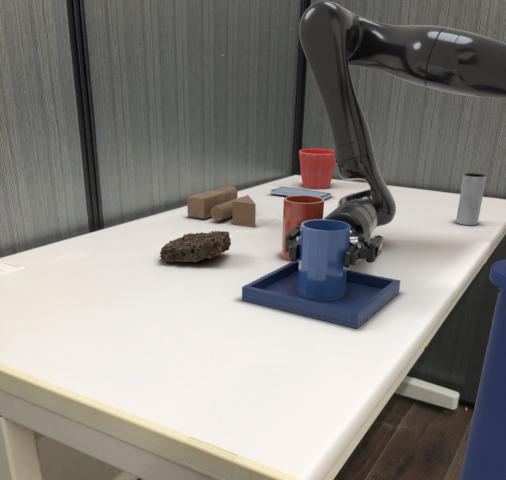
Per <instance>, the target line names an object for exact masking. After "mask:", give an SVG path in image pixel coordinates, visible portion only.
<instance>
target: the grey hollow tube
mask: <svg viewBox="0 0 506 480" xmlns="http://www.w3.org/2000/svg"><path fill="white" fill-rule="evenodd" d="M486 180H487V175H486V174H484V173H475V172H466V173H464V174H463V177H462V182H461V189H460V194H459V200H458V205H457V212H456V213H457V214H456V219H455V222H456V224H459V225H463V226H477V225H478V223H479V219H480V213H481V207H482V202H483V197H484V190H485V184H486Z"/></svg>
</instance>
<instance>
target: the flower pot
mask: <svg viewBox="0 0 506 480" xmlns="http://www.w3.org/2000/svg"><path fill="white" fill-rule="evenodd" d="M298 157H299V166H300V175H301V183H302V186H303V187H304V188H306V189H314V190H315V189H316V190H319V189H327V188H330V186H331V183H332V179H333V175H334V172H335V168H336V165H337V163H336V158H335V154H334V149H328V148H327V149H326V148H303V149H302V148H301V149H299V150H298Z"/></svg>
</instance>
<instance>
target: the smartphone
mask: <svg viewBox="0 0 506 480" xmlns="http://www.w3.org/2000/svg"><path fill="white" fill-rule="evenodd" d="M270 194H273V195H278V196H279V195H280V196H286V197H288V196H296V195H306V196H316V197H320V198H323V199H324V200H326V199H328V198H331V197H332V193H331V192H326V191H318V190H311V189H304V188H296V187H291V186H290V187H289V186H279V187H276V188H273V189H270Z"/></svg>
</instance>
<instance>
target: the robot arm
mask: <svg viewBox="0 0 506 480" xmlns="http://www.w3.org/2000/svg"><path fill="white" fill-rule="evenodd" d="M298 38H299V42H300V45H301V48H302V51H303V53H304V56H305V58H306V62H307V64H308V66H309V68H310V71H311V74H312V76H313V79H314V82H315V85H316V89H317V91H318V95H319V98H320V101H321V104H322V107H323V111H324V114H325V118H326V122H327V126H328V130H329V135H330V140H331V143H332V144H331V145H332V150H334V154H335V158H336V166H337V172H338V176H339V177H340V179H342V180H343V181H364V182H365V183H366V184H368V186H369V189H365V190H362V191H358V192H353V193H350V194H347V195H345V196H342V197H341V198H340V199H339V201H338V202H337V207H336V208H335V209H334V210H333V211H331V212H330V213H329V214H327V215H326V216H325V217H323V219H329V220H338V221H342V222H346V223H348V224H350V225H351V231H350V242H349V249H348V250H347V251H346V253H345V262H344V267H346V268H347V269H351V267H352V266H355V265H357V264H358V263H360V262H362V260H365V262H367V263H370V264H371V263H375V262H376V260H377V259H378V257H379V256H380V255H381V254H382V249H383V241H384V236H382V235H379V234H378V235H375V236H372V234H373V232H374V231H375V229H376V228H377V227H383V226H386V225H388V224H390V223H392V222H393V220H394V219H395V216H396V213H397V205H396V201H395V199H394V196H393V194H392V193H391V191H390V189H389V187H388V185H387V184H386V182H385V179H384V178H383V175H382V173H381V171H380V167H379V165H378V162H377V158H376V154H375V149H374V143H373V140H372V135H371V131H370V127H369V124H368V121H367V117H366V114H365V112H364V110H363V107H362V105H361V103H360V100H359V98H358V96H357V93H356V90H355V87H354V83H353V81H352V77H351V72H350V68H349V67H358V68H364V69H365V68H366V69H371V70H377V71H380V72H384V73H386V74H388V75H390V76H393V77H395V78H397V79H400V80H401V81H405V82H408V83H410V84H412V85H413V84H414V85H417V86H420V87H422V88H423V87H424V88H428V89H432V90H436V91H439V92H443V93H448V94H453V95H454V94H455V95H460V96H467V97H477V98H491V99H501V100H502V99H503V100H506V42H503V41H500V40H498V39H495V38H491V37H489V36H485V35H482V34H479V33H475V32H471V31H468V30H462V29H457V28H453V27H448V26H447V27H446V26H442V25H432V24H408V25H406V24H405V25H396V24H389V23H384V22H381V21H376V20H374V19H371V18H368V17H364V16H362V15H359V14H356V13H354V12H352V11H350V10H349V9H347V8H345V7H343V6H342V5H340V4H339V3H336V2H334V1H331V0H318V1H316V2H314V3H312V4H311V5H310V6H308V7H307V8H306V9H305V11H304V12H303V14H302V16H301V17H300V21H299V25H298ZM300 230H301V227H294V228H293V229H292V230H291V231H290V232H289V233H288V234H286V239H285V252H288V253H289V257H291V260H292V261H297V260H298V259H299V251H300ZM291 260H290V261H291ZM292 261H291V262H292Z"/></svg>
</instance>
